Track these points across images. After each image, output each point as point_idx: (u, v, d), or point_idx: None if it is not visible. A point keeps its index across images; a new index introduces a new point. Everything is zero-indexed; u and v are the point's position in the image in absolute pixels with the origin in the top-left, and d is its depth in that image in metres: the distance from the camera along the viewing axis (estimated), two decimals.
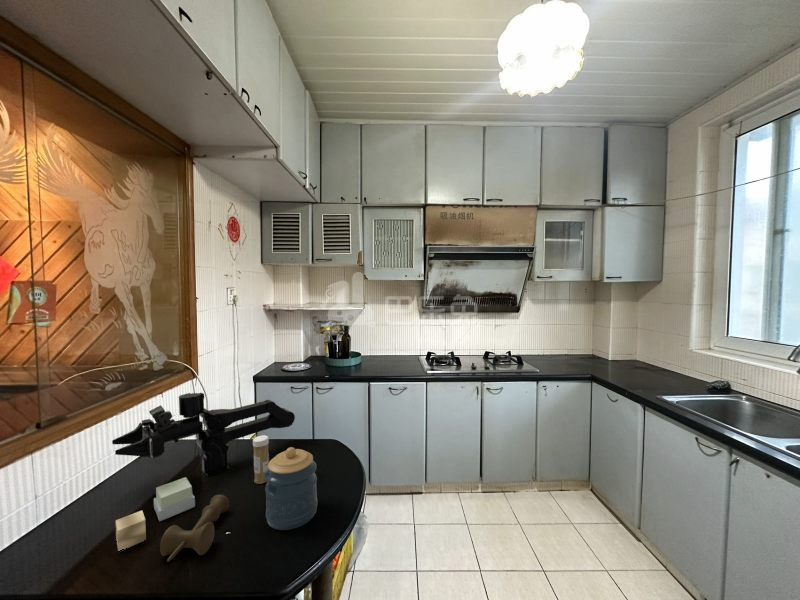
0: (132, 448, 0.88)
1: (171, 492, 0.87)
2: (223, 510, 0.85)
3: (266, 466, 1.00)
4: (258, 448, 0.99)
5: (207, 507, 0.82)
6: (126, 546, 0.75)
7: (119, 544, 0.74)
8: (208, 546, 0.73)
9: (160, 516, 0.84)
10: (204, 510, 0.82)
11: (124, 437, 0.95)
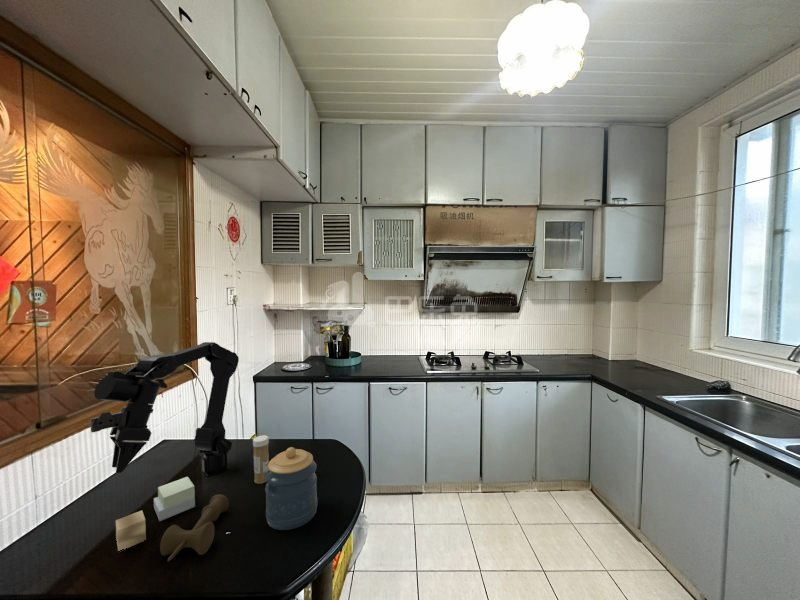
0: (123, 457, 0.76)
1: (174, 492, 0.87)
2: (223, 510, 0.85)
3: (266, 466, 1.00)
4: (258, 448, 0.99)
5: (207, 507, 0.82)
6: (126, 546, 0.75)
7: (119, 544, 0.74)
8: (208, 546, 0.74)
9: (160, 516, 0.84)
10: (204, 510, 0.82)
11: (116, 455, 0.83)
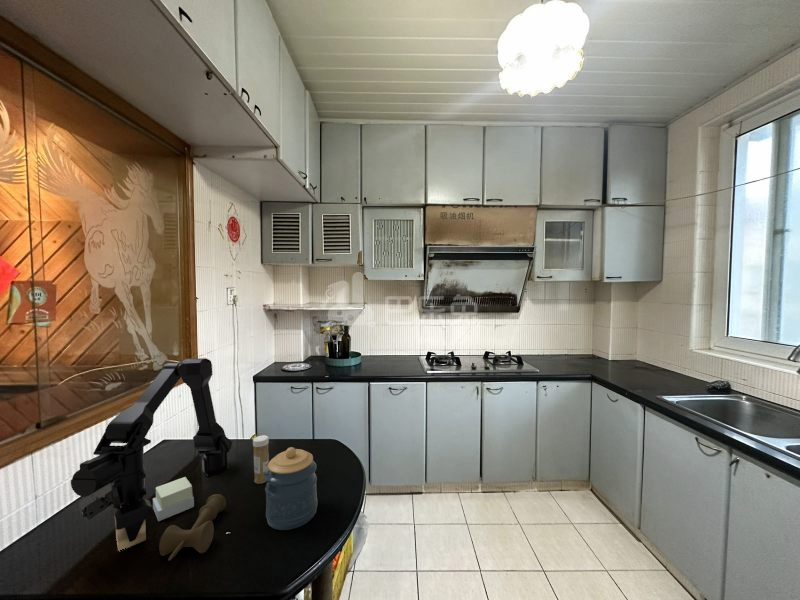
0: (131, 529, 0.74)
1: (171, 492, 0.87)
2: (220, 509, 0.86)
3: (266, 466, 1.00)
4: (258, 448, 0.99)
5: (205, 506, 0.82)
6: (126, 546, 0.75)
7: (119, 543, 0.74)
8: (208, 544, 0.74)
9: (159, 516, 0.84)
10: (201, 510, 0.82)
11: None
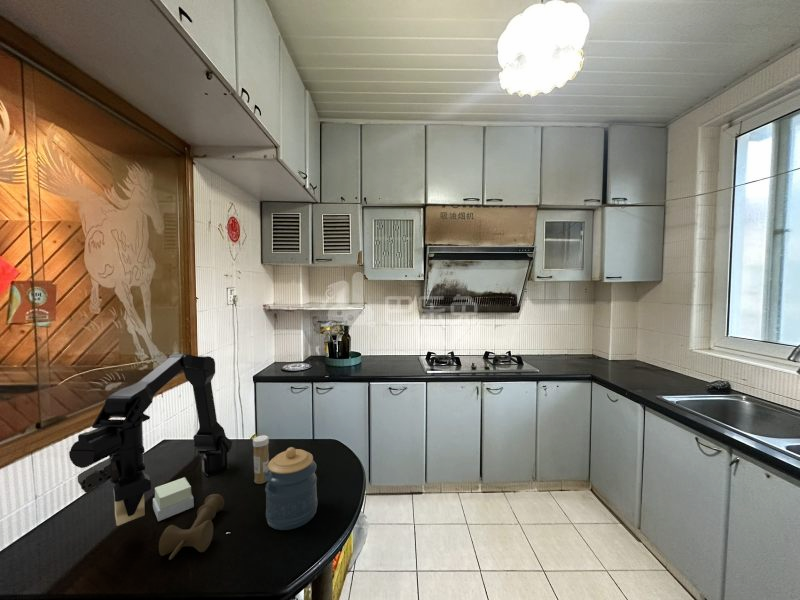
0: (130, 503, 0.74)
1: (170, 492, 0.86)
2: (218, 509, 0.86)
3: (266, 466, 1.00)
4: (258, 448, 0.99)
5: (203, 506, 0.83)
6: (125, 520, 0.74)
7: (118, 518, 0.74)
8: (208, 543, 0.74)
9: (159, 516, 0.84)
10: (200, 509, 0.82)
11: None
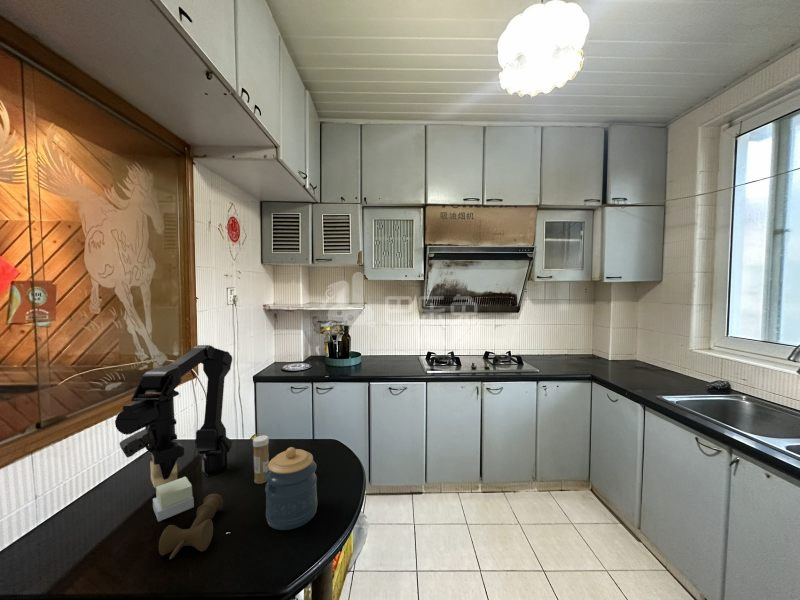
0: (165, 467, 0.83)
1: (171, 491, 0.87)
2: (217, 509, 0.86)
3: (266, 466, 1.00)
4: (258, 448, 0.99)
5: (202, 506, 0.83)
6: (160, 483, 0.84)
7: (155, 480, 0.83)
8: (208, 542, 0.75)
9: (159, 516, 0.84)
10: (199, 509, 0.82)
11: None
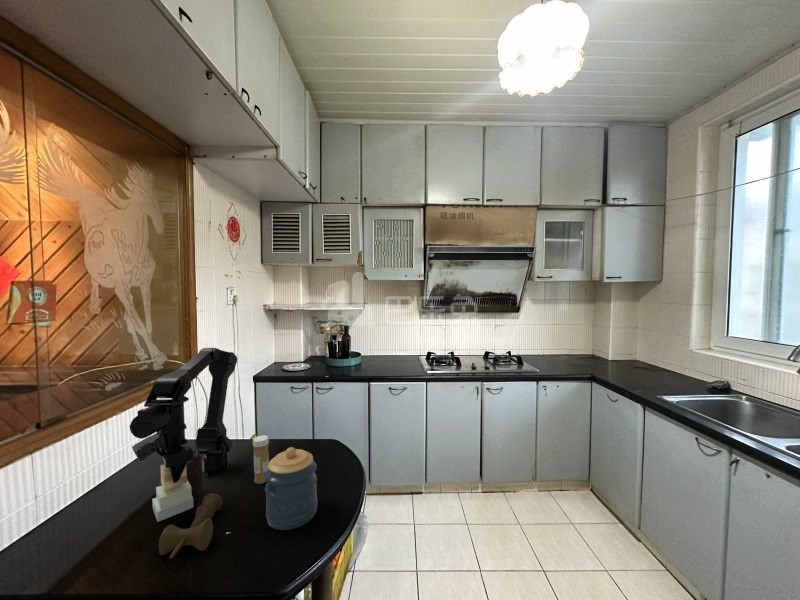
0: (175, 471, 0.86)
1: (170, 493, 0.86)
2: (217, 508, 0.86)
3: (266, 466, 1.00)
4: (258, 448, 0.99)
5: (201, 506, 0.83)
6: (171, 486, 0.87)
7: (165, 483, 0.86)
8: (208, 542, 0.75)
9: (158, 517, 0.83)
10: (198, 509, 0.82)
11: None
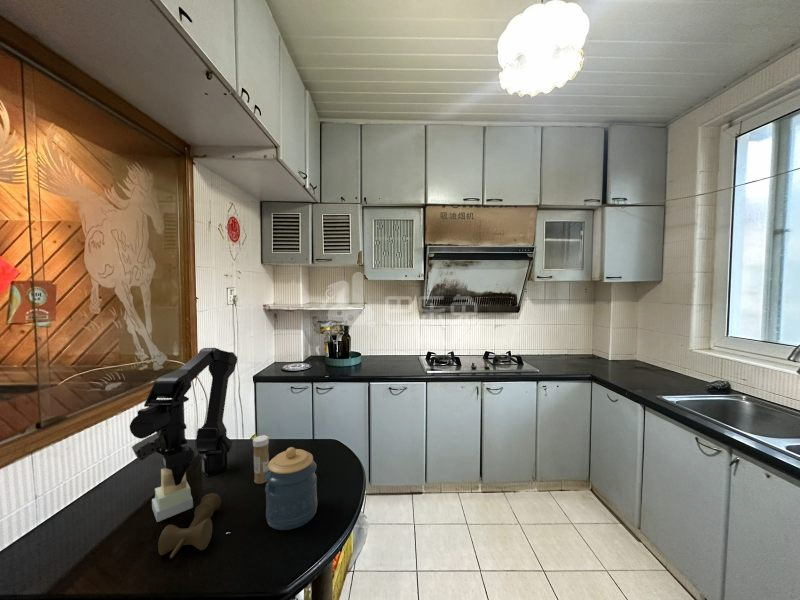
0: (177, 474, 0.85)
1: (169, 493, 0.86)
2: (215, 508, 0.86)
3: (266, 466, 1.00)
4: (258, 448, 0.99)
5: (200, 506, 0.83)
6: (170, 490, 0.87)
7: (164, 488, 0.86)
8: (208, 541, 0.75)
9: (158, 517, 0.83)
10: (197, 509, 0.82)
11: None
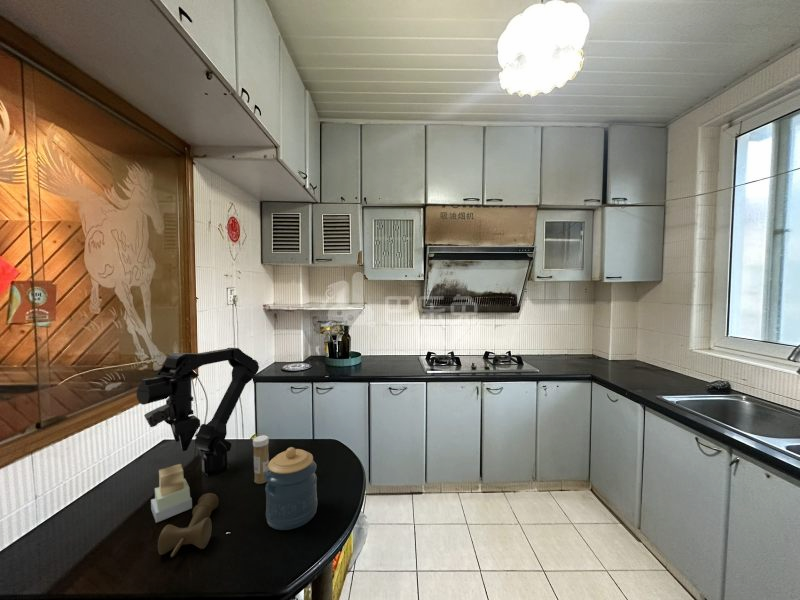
0: (184, 440, 0.94)
1: (168, 494, 0.86)
2: (213, 508, 0.86)
3: (266, 466, 1.00)
4: (258, 448, 0.99)
5: (198, 505, 0.83)
6: (167, 492, 0.86)
7: (162, 489, 0.85)
8: (208, 540, 0.75)
9: (157, 518, 0.83)
10: (195, 509, 0.83)
11: (175, 433, 1.01)
